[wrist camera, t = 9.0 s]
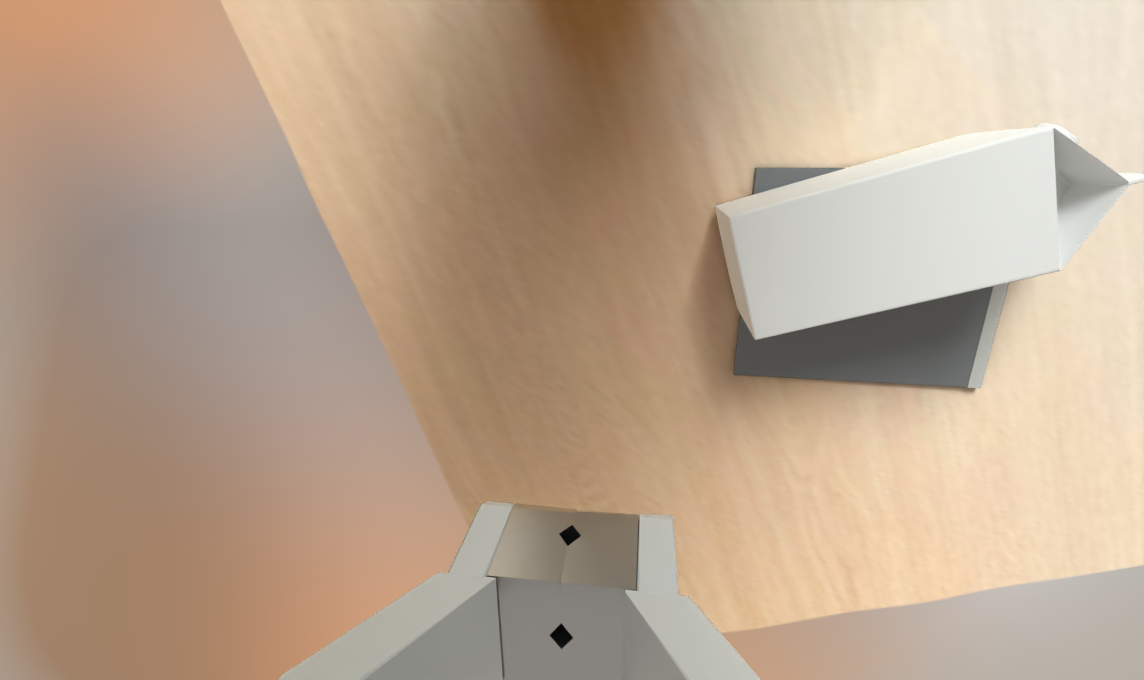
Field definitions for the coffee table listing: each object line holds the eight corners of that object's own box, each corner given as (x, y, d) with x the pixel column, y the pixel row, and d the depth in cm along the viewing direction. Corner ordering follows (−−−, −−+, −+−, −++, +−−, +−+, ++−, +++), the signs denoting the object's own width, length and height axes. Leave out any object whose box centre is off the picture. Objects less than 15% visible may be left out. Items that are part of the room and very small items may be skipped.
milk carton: (734, 308, 37) (1052, 231, 32) (752, 341, 30) (1156, 250, 26) (711, 205, 35) (1046, 109, 31) (725, 217, 28) (1156, 96, 24)
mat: (755, 167, 34) (756, 167, 34) (1033, 169, 32) (1038, 169, 32) (733, 372, 39) (734, 375, 38) (976, 385, 36) (980, 388, 36)
